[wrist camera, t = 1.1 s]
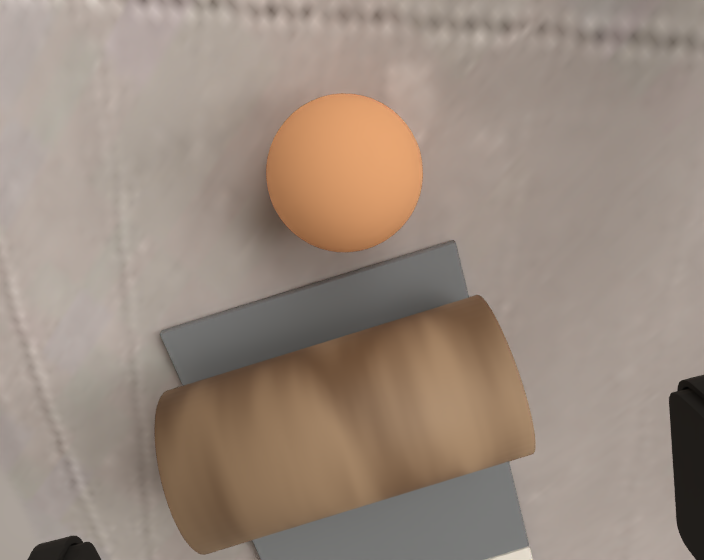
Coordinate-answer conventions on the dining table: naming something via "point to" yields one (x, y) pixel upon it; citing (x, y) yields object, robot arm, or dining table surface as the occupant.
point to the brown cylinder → (341, 425)
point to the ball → (344, 172)
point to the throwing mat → (340, 320)
